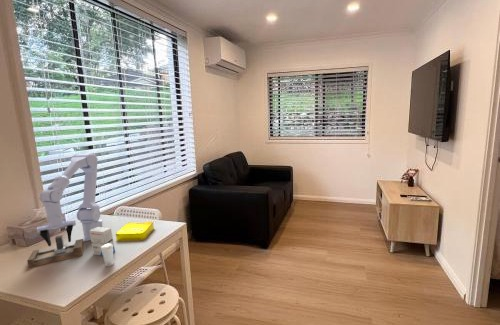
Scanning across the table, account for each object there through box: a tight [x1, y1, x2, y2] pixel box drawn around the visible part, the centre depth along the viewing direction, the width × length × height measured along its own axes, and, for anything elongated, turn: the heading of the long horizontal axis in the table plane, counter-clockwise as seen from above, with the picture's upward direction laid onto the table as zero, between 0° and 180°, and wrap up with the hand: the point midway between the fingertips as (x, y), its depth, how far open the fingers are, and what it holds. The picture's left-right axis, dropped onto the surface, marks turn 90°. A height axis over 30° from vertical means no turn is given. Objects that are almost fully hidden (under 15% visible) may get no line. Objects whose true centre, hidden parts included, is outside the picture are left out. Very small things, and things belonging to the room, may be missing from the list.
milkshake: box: [98, 243, 115, 267], centre depth 119 cm, size 4×5×10 cm
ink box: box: [89, 226, 116, 256], centre depth 129 cm, size 9×5×12 cm, turn 71°
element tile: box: [115, 221, 155, 242], centre depth 149 cm, size 15×15×5 cm
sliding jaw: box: [54, 235, 68, 255], centre depth 129 cm, size 4×6×7 cm, turn 26°
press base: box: [27, 238, 85, 268], centre depth 129 cm, size 20×10×4 cm, turn 116°
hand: (60, 243), depth 129 cm, fingers open, 7 cm apart
